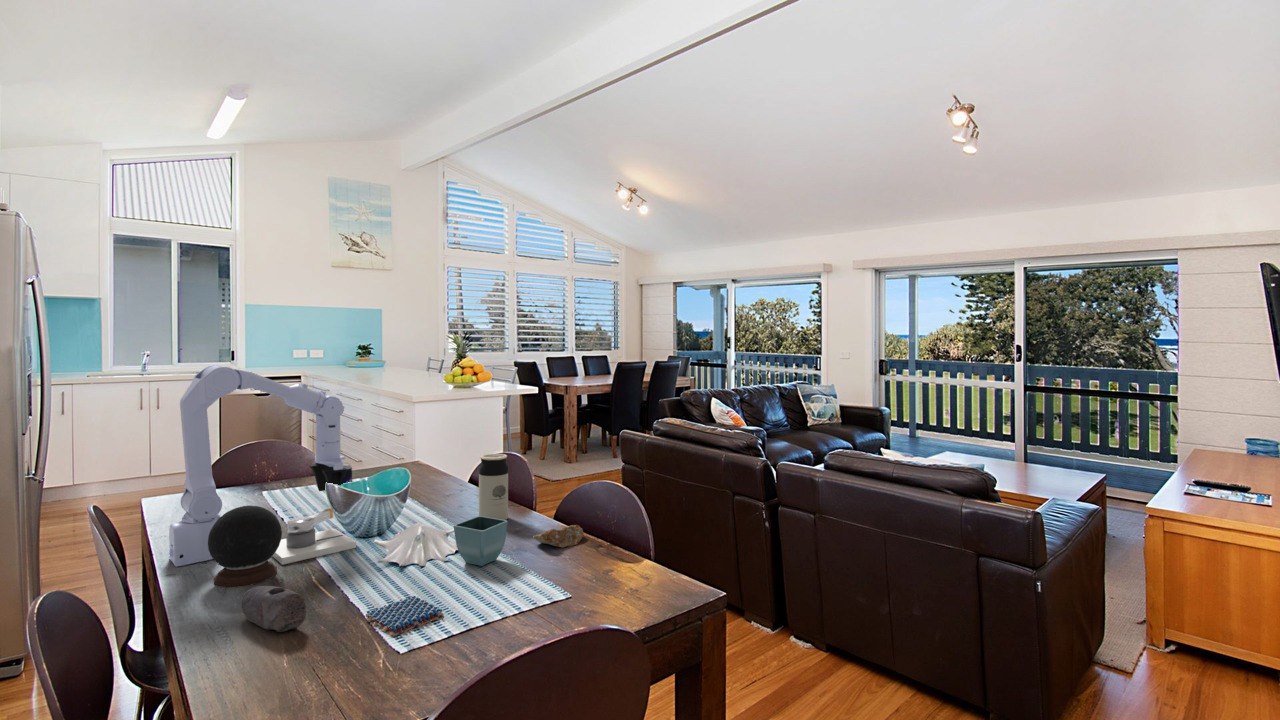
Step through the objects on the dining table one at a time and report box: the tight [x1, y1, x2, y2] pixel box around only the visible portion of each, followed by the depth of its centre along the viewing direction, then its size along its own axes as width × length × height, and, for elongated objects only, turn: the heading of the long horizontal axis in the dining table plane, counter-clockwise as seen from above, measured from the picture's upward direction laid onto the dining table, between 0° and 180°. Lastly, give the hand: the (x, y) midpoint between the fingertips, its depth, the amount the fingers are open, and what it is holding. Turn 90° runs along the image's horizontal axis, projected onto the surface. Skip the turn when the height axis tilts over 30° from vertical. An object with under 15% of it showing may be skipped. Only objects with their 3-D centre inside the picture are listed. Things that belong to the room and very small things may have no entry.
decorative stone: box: [532, 524, 584, 549], centre depth 153 cm, size 10×4×15 cm
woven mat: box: [364, 595, 445, 637], centre depth 111 cm, size 10×11×2 cm
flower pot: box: [453, 515, 508, 567], centre depth 140 cm, size 9×9×9 cm
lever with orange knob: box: [286, 508, 334, 534], centre depth 149 cm, size 14×6×2 cm, turn 171°
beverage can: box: [342, 462, 353, 484], centre depth 187 cm, size 6×6×12 cm
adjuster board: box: [272, 528, 357, 565], centre depth 147 cm, size 16×14×4 cm
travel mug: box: [478, 453, 509, 521], centre depth 172 cm, size 8×8×18 cm
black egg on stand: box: [208, 505, 283, 589], centre depth 129 cm, size 13×13×15 cm
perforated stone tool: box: [240, 585, 307, 633], centre depth 108 cm, size 15×5×7 cm, turn 61°
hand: (328, 493), depth 160 cm, fingers open, 7 cm apart
